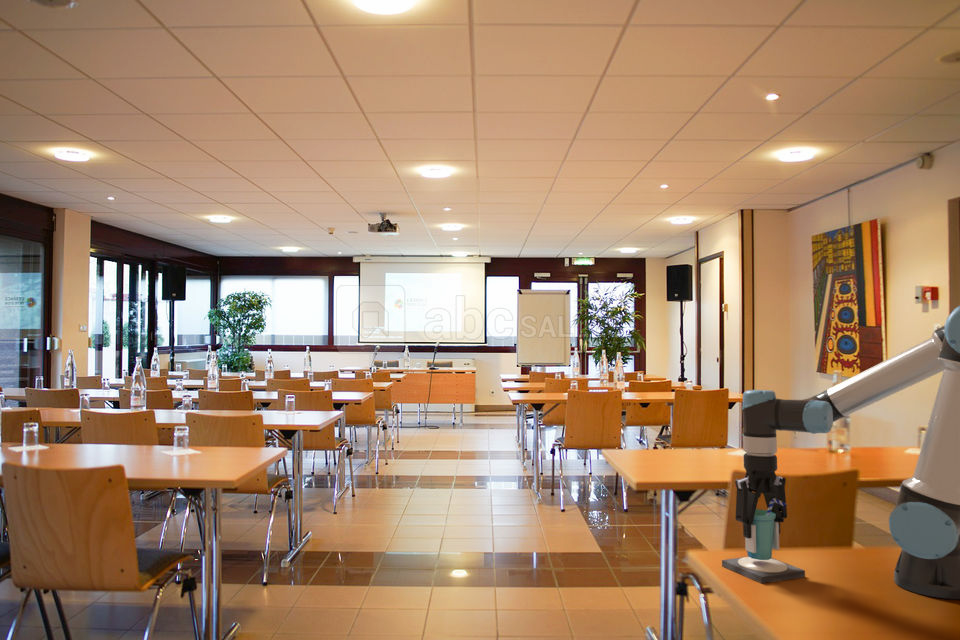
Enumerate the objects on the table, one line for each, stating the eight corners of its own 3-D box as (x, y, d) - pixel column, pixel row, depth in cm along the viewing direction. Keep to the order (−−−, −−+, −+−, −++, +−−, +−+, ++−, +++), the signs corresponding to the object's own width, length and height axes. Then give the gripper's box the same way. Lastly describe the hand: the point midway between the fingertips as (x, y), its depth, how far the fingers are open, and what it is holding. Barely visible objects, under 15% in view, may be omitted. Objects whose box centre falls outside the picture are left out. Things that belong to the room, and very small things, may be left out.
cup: (798, 563, 153) (797, 499, 153) (775, 568, 149) (774, 502, 150) (750, 548, 165) (749, 488, 166) (728, 552, 162) (727, 491, 162)
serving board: (805, 576, 153) (804, 569, 153) (761, 583, 149) (761, 575, 149) (763, 560, 165) (763, 553, 165) (722, 566, 161) (721, 558, 161)
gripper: (778, 449, 165) (781, 541, 164) (717, 453, 158) (719, 549, 157) (802, 453, 158) (805, 549, 157) (739, 458, 151) (741, 558, 150)
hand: (762, 549), depth 157 cm, fingers closed on cup, 6 cm apart
